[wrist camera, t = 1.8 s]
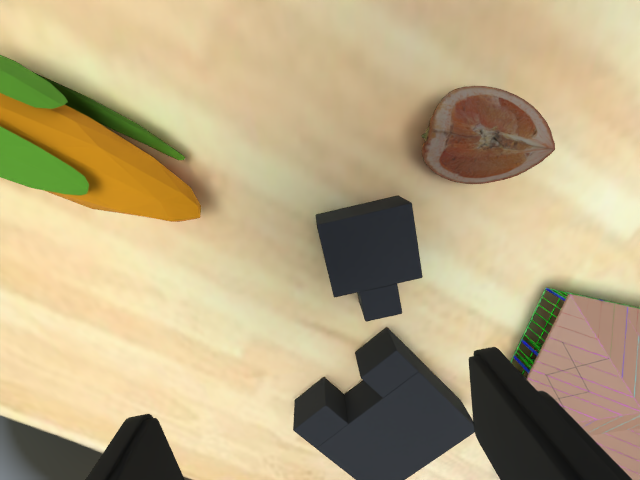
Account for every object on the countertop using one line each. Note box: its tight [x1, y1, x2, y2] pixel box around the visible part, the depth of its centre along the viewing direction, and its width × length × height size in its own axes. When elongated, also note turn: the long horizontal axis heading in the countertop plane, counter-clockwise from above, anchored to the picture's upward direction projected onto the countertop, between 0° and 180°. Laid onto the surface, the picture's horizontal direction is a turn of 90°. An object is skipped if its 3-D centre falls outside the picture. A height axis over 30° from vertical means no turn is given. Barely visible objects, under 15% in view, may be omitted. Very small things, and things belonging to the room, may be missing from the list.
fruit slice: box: [422, 86, 555, 184], centre depth 22 cm, size 8×7×5 cm
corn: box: [0, 55, 201, 222], centre depth 20 cm, size 7×8×20 cm
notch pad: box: [293, 328, 475, 480], centre depth 30 cm, size 12×12×4 cm
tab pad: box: [316, 196, 422, 321], centre depth 26 cm, size 7×9×4 cm
